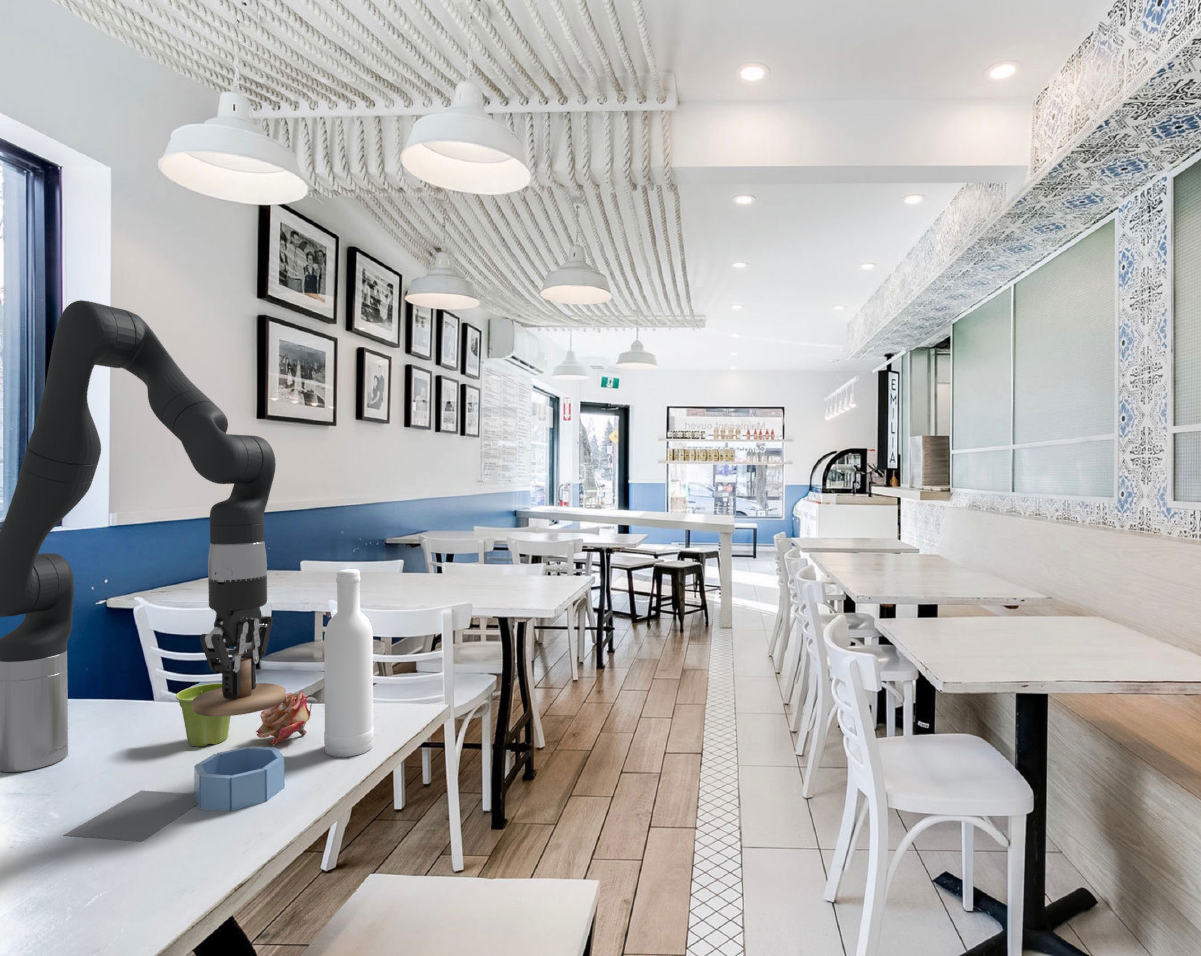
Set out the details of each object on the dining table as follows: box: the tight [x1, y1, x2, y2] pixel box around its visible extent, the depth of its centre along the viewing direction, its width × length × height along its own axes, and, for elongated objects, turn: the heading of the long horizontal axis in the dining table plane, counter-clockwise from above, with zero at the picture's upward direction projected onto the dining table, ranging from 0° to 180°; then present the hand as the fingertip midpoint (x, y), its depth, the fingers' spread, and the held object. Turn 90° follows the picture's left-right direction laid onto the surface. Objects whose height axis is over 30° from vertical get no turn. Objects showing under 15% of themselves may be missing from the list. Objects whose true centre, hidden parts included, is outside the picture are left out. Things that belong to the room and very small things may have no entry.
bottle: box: [323, 568, 375, 758], centre depth 123 cm, size 8×8×30 cm
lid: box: [192, 658, 287, 717], centre depth 105 cm, size 12×12×6 cm
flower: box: [255, 689, 313, 746], centre depth 127 cm, size 10×9×8 cm
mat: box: [63, 790, 198, 843], centre depth 98 cm, size 11×13×1 cm
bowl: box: [193, 745, 286, 812], centre depth 105 cm, size 11×11×5 cm
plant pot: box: [175, 682, 231, 748], centre depth 126 cm, size 9×9×9 cm
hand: (239, 693), depth 105 cm, fingers closed on lid, 3 cm apart
